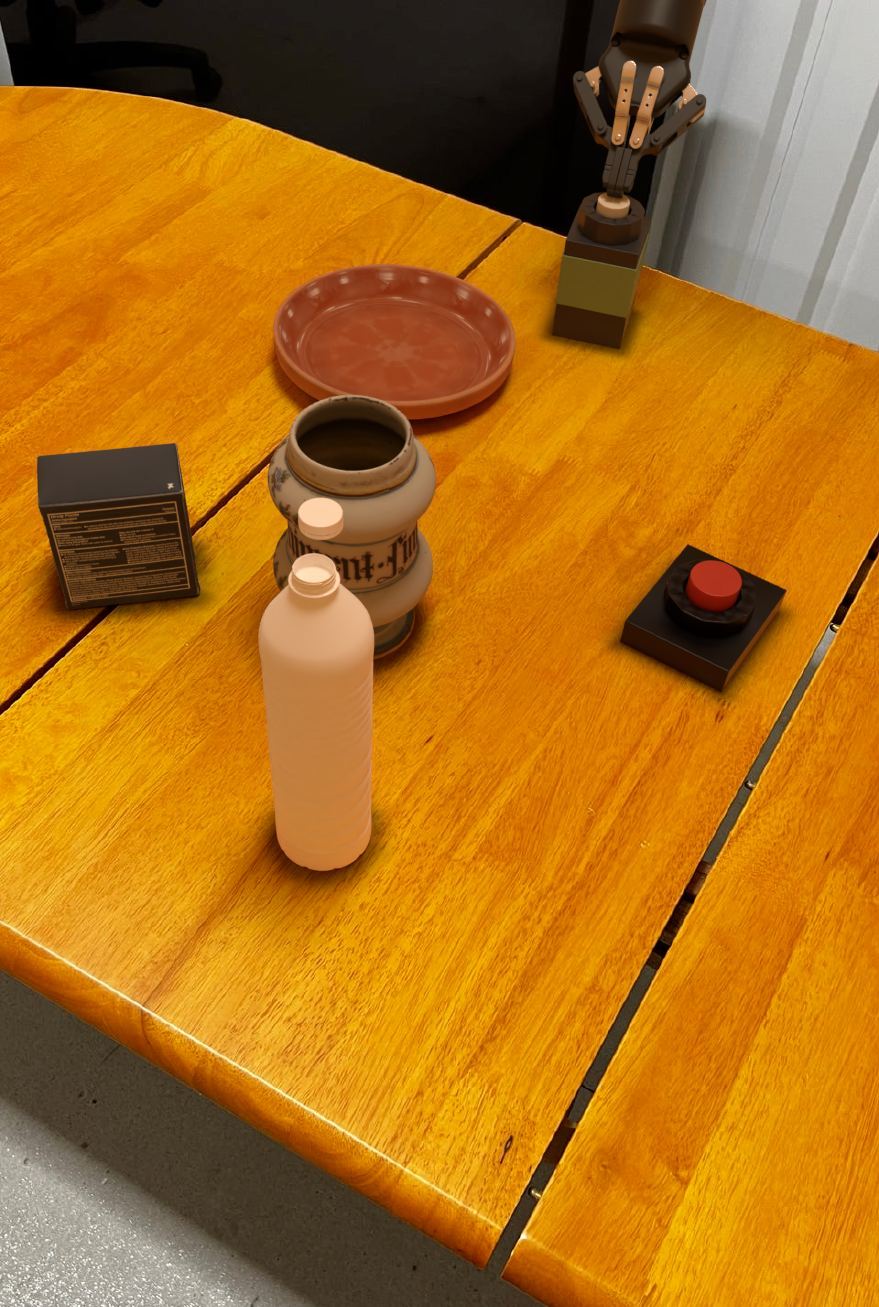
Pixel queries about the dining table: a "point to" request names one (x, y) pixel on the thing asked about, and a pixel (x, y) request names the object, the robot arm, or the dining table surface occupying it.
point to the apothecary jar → (360, 506)
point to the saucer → (395, 338)
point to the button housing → (701, 623)
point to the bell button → (713, 586)
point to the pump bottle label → (598, 285)
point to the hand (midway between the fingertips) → (614, 194)
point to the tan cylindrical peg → (613, 206)
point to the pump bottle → (606, 245)
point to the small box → (118, 525)
